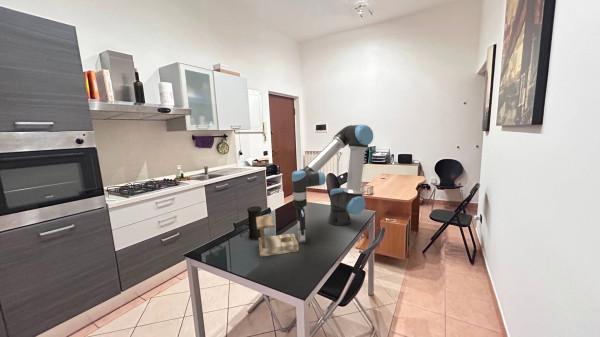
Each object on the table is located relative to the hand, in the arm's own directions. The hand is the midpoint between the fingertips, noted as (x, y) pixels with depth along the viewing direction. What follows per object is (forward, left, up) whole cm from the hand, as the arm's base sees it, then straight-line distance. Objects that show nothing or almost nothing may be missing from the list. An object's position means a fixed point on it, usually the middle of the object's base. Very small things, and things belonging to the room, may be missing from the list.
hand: (301, 238), depth 140 cm
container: (+25, -14, -2) cm, 29 cm away
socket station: (+14, +4, -2) cm, 15 cm away
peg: (0, 0, -2) cm, 2 cm away
